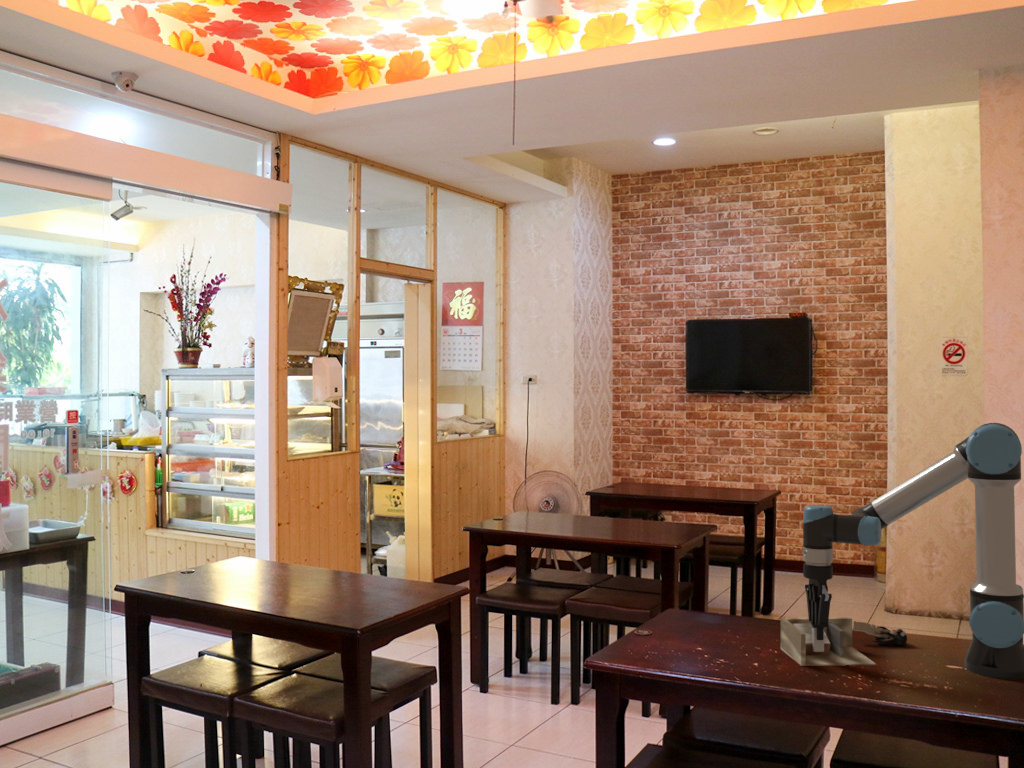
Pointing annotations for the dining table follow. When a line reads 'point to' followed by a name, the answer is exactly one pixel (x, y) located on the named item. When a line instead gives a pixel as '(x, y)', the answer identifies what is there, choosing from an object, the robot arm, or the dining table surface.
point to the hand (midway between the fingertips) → (818, 650)
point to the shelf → (837, 635)
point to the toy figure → (881, 633)
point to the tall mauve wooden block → (807, 630)
